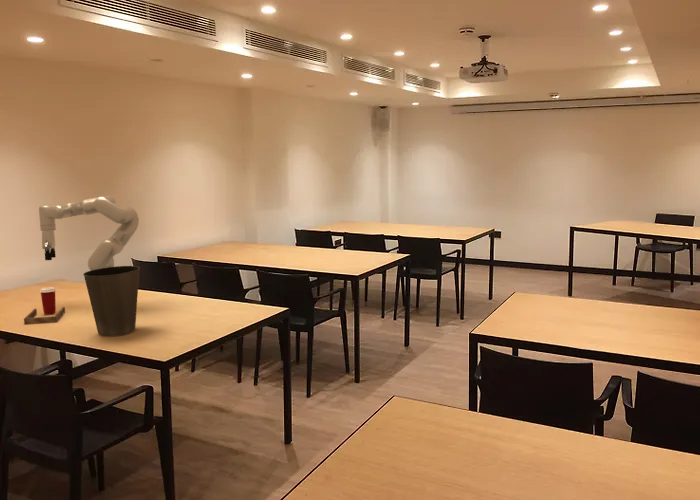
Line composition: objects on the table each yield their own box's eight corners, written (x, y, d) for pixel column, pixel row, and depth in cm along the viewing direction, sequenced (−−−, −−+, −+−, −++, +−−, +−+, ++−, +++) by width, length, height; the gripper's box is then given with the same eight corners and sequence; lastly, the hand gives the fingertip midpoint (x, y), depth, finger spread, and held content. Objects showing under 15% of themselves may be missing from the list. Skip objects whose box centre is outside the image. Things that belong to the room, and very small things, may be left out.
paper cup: (60, 312, 325) (58, 287, 323) (48, 316, 318) (46, 290, 316) (50, 311, 328) (48, 286, 326) (38, 314, 321) (36, 289, 319)
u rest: (65, 312, 326) (64, 307, 325) (56, 322, 306) (56, 316, 305) (34, 314, 322) (34, 308, 322) (24, 324, 302) (23, 318, 301)
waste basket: (104, 342, 272) (99, 277, 267) (77, 335, 283) (73, 272, 278) (153, 328, 294) (149, 268, 290) (126, 322, 305) (123, 264, 301)
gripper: (44, 226, 335) (46, 256, 337) (36, 229, 318) (39, 261, 321) (58, 225, 337) (61, 256, 339) (52, 229, 320) (54, 261, 323)
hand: (50, 258), depth 330 cm, fingers open, 9 cm apart
